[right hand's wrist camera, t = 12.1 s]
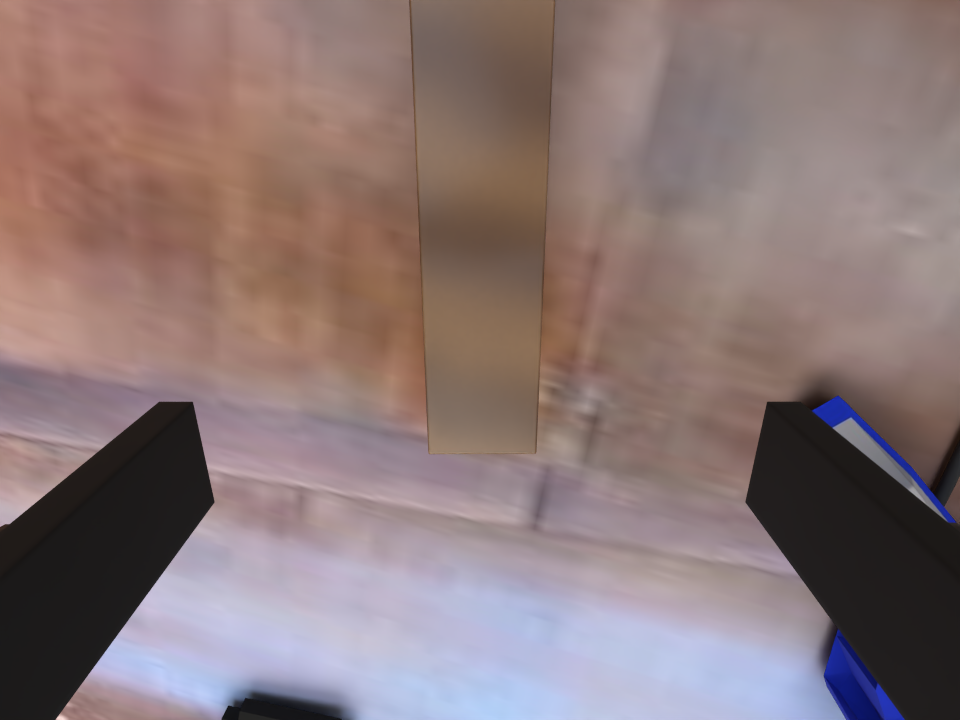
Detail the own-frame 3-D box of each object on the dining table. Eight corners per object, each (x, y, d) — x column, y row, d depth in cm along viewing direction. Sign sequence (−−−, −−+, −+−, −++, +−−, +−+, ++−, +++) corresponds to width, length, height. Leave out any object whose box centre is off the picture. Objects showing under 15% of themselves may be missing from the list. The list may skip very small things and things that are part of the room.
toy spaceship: (942, 300, 33) (1121, 351, 23) (1124, 657, 40) (1315, 806, 31) (661, 465, 37) (715, 567, 27) (874, 760, 45) (974, 918, 35)
